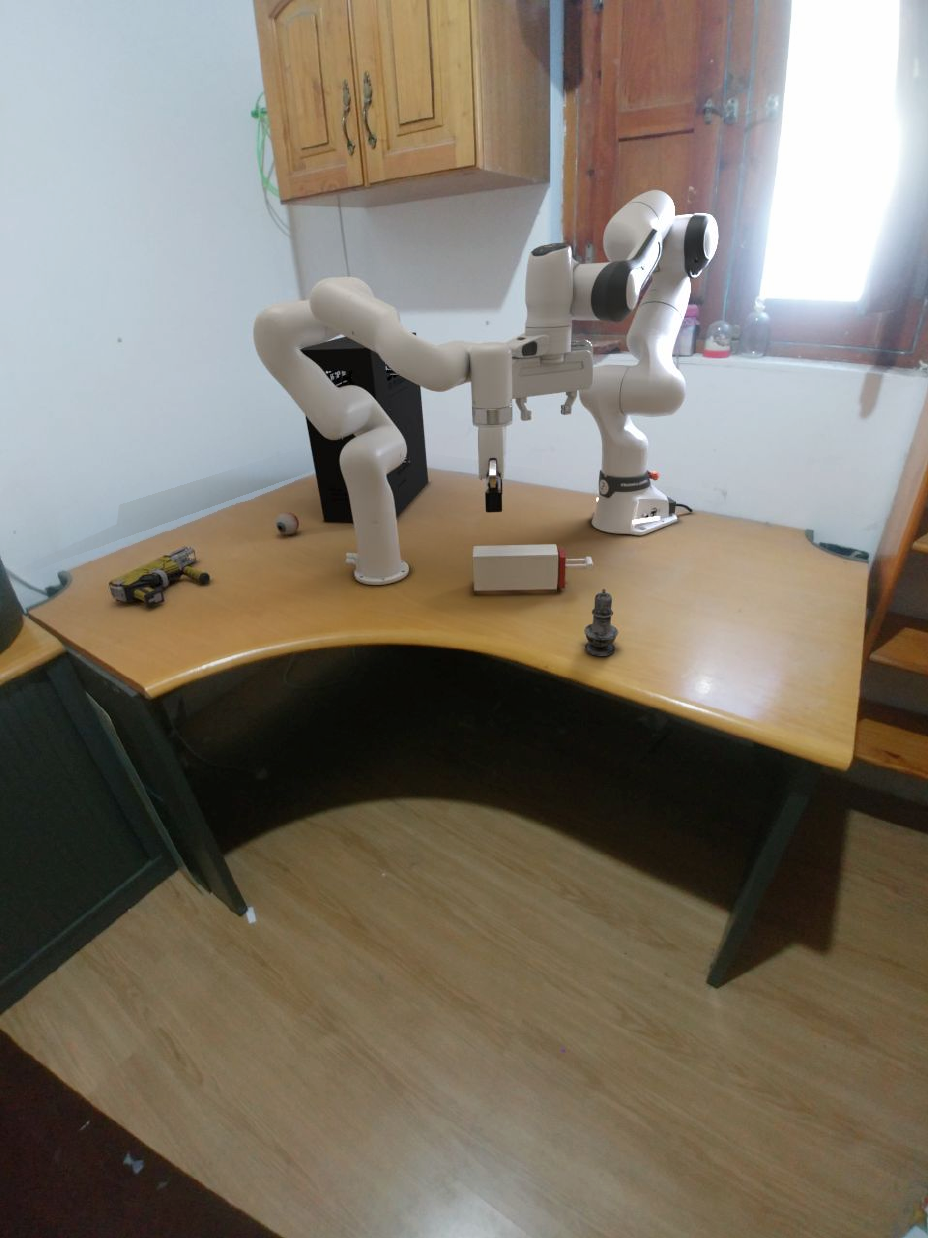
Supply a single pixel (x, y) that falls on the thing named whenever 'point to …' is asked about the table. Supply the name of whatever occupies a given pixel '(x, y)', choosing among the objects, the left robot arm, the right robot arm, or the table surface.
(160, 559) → the toy gun
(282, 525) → the eyeball
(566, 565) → the drawer
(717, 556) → the table surface
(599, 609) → the dark grey chess piece
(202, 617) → the table surface
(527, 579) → the cabinet
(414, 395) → the black computer case
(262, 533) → the table surface
